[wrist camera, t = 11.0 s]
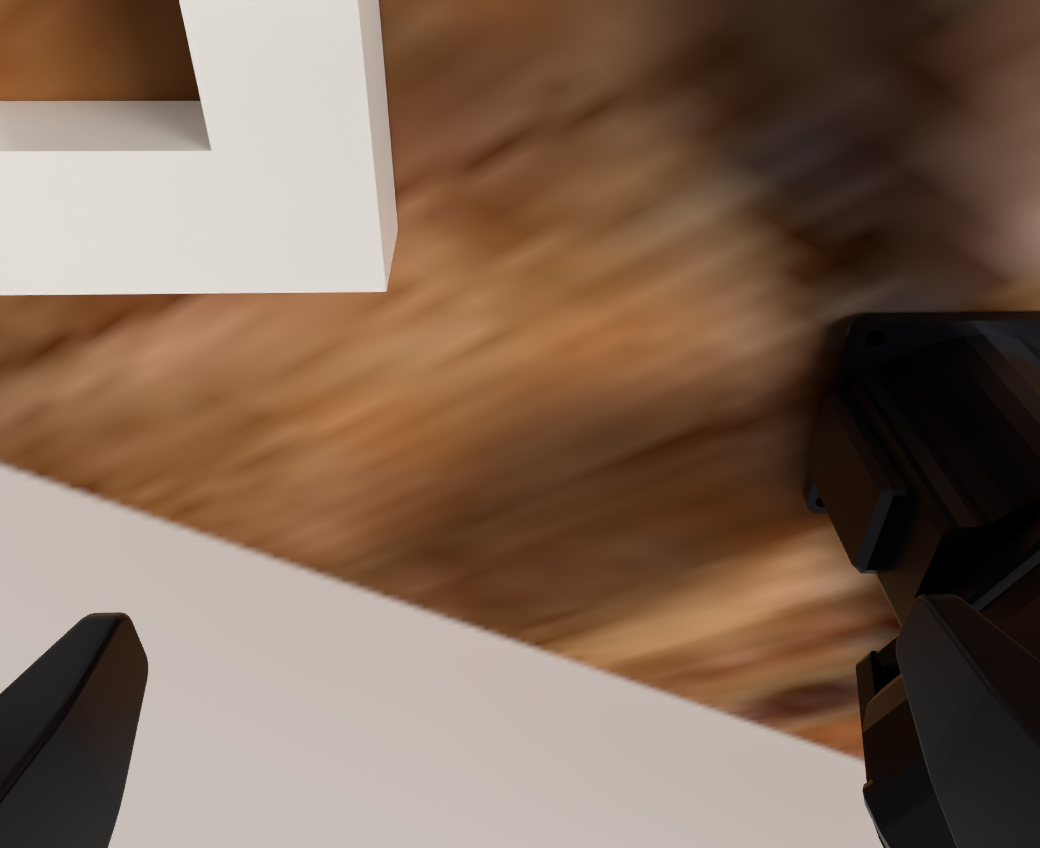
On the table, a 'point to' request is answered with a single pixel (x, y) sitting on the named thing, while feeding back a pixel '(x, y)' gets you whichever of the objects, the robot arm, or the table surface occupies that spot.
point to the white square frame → (214, 167)
